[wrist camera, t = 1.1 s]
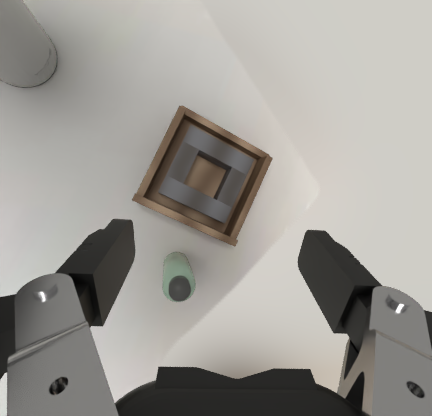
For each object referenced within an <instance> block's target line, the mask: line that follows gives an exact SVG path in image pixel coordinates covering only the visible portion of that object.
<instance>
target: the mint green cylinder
mask: <svg viewBox="0 0 432 416" xmlns="http://www.w3.org/2000/svg"><path fill="white" fill-rule="evenodd" d="M194 290H195V279H194V277H193V274H192V271H191V268H190V265H189V263H188V260H187V258H186V256H185V255H184V254H182V253H179V252H174V253H171V254H169V255H168V256H167V257H166V259H165V261H164V270H163V292H164V294H165V296H166V297H167V298H168V299H169V300H171V301H174V302H181V301H185V300H187V299H188V298H189V297H190V296H191V295H192V294H193V292H194Z"/></svg>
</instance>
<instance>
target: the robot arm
mask: <svg viewBox="0 0 432 416" xmlns="http://www.w3.org/2000/svg"><path fill="white" fill-rule="evenodd" d="M56 64H57V54H56V50H55V47H54V45H53V43H52V42H51V40H50V38H49V37H48V36H47V34H46V33H45V31H44V30H43V29H42V27H41V26H40V24H39V23H38V22H37V20H36V19H35V17H34V16H33V14H32V13H31V12H30V10H29V9H28V7H27V6H26V5H25V3H24V2H23V0H0V80H2V81H4V82H6V83H7V84H10V85H14V86H18V87H33V86H36V85H39V84H41V83H43V82H45V81H46V80H47V79H49V78H50V77H51V75H52V74H53V72H54V70H55V68H56ZM134 257H135V242H134V230H133V222H132V220H125V219H113V220H112V221H111V222H110V223H109V224H108V226H107V227H106V228H105V229H99V230H97V231H96V232H94V233H92V234H91V235H89V236H88V237H87V238H86V239H85V240H84V241H83V243H82V244H81V245H80V246H79V247H78V248H77V250H76V251H74V253H73V254H72V255H71V256H70V257H69V258H68V259H67V260H66V261H65V263H64V264H63V265H62V266H61V267H60V268H59V269H58V270H57V271H56V273H55V274H48V275H44V276H41V277H38V278H36V279H34V280H32V281H30V282H29V283H27V284H26V285H24V286H23V287H22V288H21V289H20V290H19V291H18V292H17V294H15V295H10V296H4V297H0V379H1V378H2V376H3V375H4V373H6V372H7V416H432V312H429V311H425V310H423V308H422V307H421V306H420V304H419V303H418V302H416V301H415V300H414V299H413V298H411V297H410V296H408V295H407V294H405V293H403V292H401V291H399V290H397V289H394V288H391V287H386V286H382V285H381V284H380V283H379V282H378V281H377V280H376V279H375V278H374V277H373V276H372V275H371V274H370V273H369V271H368V270H367V269H366V268H365V267H364V266H363V265H361V264H360V262H359V261H358V260H357V259H356V258H354V256H353V255H352V254H351V252H350V251H349V250H348V249H347V248H345V247H343V246H342V245H340V244H339V243H337V242H335V241H334V240H333V239H332V238H331V236H330V235H329V234H328V233H327V232H326V231H320V230H307V231H306V233H305V236H304V239H303V243H302V246H301V249H300V253H299V257H298V267H299V270H300V272H301V274H302V276H303V278H304V280H305V281H306V283H307V285H308V287H309V289H310V291H311V292H312V294H313V296H314V298H315V300H316V302H317V304H318V305H319V307H320V309H321V311H322V313H323V315H324V316H325V318H326V320H327V322H328V324H329V326H330V327H331V329H332V331H333V333H345V334H348V336H349V340H348V342H347V345H346V350H345V356H344V361H343V366H342V371H341V377H340V382H339V387H338V391H337V393H335V392H334V391H332V390H330V389H328V388H326V387H323V386H321V385H319V384H316V383H315V381H314V378H313V375H312V373H311V370H310V369H271V370H268V371H264V372H261V373H258V374H254V375H251V376H247V377H244V378H240V379H234V378H230V377H227V376H224V375H220V374H217V373H214V372H210V371H207V370H204V369H201V368H197V367H158V373H157V378H156V381H152V382H149V383H147V384H144V385H142V386H140V387H138V388H136V389H134V390H132V391H131V392H129V393H127V394H126V395H125V396H123V397H122V398H120V399H119V400H118V401H117V402H116V403H114V400H113V397H112V394H111V391H110V388H109V385H108V382H107V379H106V376H105V373H104V370H103V367H102V364H101V361H100V358H99V355H98V352H97V349H96V346H95V343H94V339H93V336H92V333H91V330H90V327H91V326H103V325H104V323H105V321H106V319H107V317H108V314H109V312H110V310H111V308H112V306H113V304H114V302H115V300H116V298H117V295H118V293H119V291H120V289H121V287H122V285H123V283H124V281H125V279H126V276H127V274H128V272H129V270H130V268H131V266H132V264H133V261H134Z"/></svg>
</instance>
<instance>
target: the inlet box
mask: <svg viewBox="0 0 432 416" xmlns="http://www.w3.org/2000/svg"><path fill="white" fill-rule="evenodd" d="M272 159H273V158H272V157H270V156H269V154H267V153H265V152H263V151H262V150H260V149H258V148H256V147H255V146H253V145H251V144H249V143H247V142H246V141H244V140H242V139H240V138H239V137H237V136H235V135H233V134H232V133H230V132H228V131H226V130H225V129H223V128H221V127H219V126H218V125H216V124H214V123H212V122H210V121H209V120H207V119H205V118H203V117H202V116H200V115H198V114H196V113H195V112H193V111H191V110H189V109H188V108H186V107H184V106H179V108H178V110H177V112H176V114H175V116H174V118H173V120H172V122H171V124H170V126H169V128H168V130H167V132H166V134H165V136H164V138H163V141H162V143H161V145H160V147H159V149H158V151H157V153H156V155H155V157H154V159H153V161H152V163H151V165H150V167H149V169H148V171H147V173H146V175H145V177H144V179H143V181H142V183H141V185H140V187H139V189H138V191H137V193H136V194H135V195H134V197H133V199H132V200H133V201H135V202H137V203H139V204H142V205H144V206H146V207H148V208H150V209H153V210H155V211H157V212H159V213H162V214H164V215H166V216H168V217H170V218H173V219H175V220H177V221H179V222H182V223H184V224H186V225H188V226H190V227H193V228H195V229H197V230H199V231H201V232H204V233H206V234H208V235H210V236H213V237H215V238H217V239H219V240H221V241H224V242H226V243H228V244H230V245H233V246H236V244H237V241H238V240H236V238H237V236H238V234H239V232H240V229H241V227H242V225H243V223H244V220H245V218H246V216H247V214H248V212H249V209H250V207H251V205H252V203H253V201H254V198H255V196H256V194H257V192H258V190H259V187H260V185H261V183H262V181H263V179H264V176H265V174H266V172H267V170H268V167H269V165H270V163H271V161H272Z"/></svg>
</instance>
